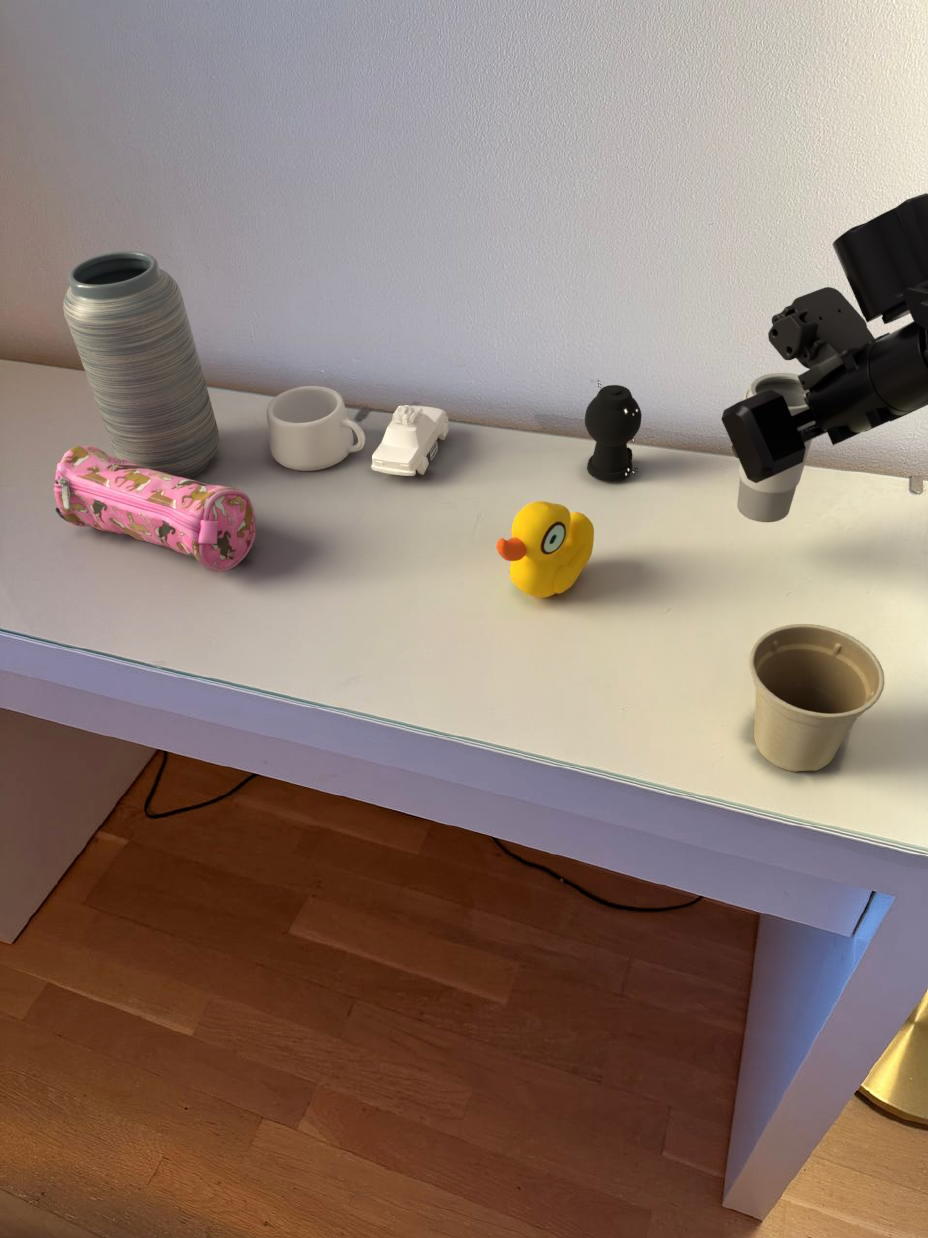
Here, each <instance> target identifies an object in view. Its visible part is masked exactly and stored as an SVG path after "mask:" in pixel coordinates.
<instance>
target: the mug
mask: <svg viewBox="0 0 928 1238" xmlns="http://www.w3.org/2000/svg"><path fill="white" fill-rule="evenodd" d="M266 419H267V420H266V423H267V430H268V442H269V449H270V453H271V456H272V458H273V459H274V460H275V462H277V463H278V464H280V465H281V466H283V467H284V468H287V469H290V470H293V471H299V472H300V471H301V472H315V471H319V470H324V469H328V468H330V467H333V466H336V465H338V464H339V463H340V462H342V461H344V460H345V458H347V457H348V455H349V454H350V453H357V452H360V451H361V450H363V448H364V447H365V443H366V435H365V432H364V430H363V428H362V427H361V426H360V425H359V424H358V423H357V422H355V421H353V420H351V419H349V416H348V412H347V409H346V406H345V401H344V398H343V397H342V395H341V394H340V393H339V392H338V391H336V390H335V389H332V388H329V387H326V386H319V385H304V386H297V387H294V388H291V389H288V390H285V391H283V392H281V393H278V394H277V395H276V396H275V397H273V398H272V399H271V401H270V402H269V403H267V407H266ZM353 431H354V432H353ZM354 433H355V434H356V436H357V443H356V444H354V442H355V438H354V437H355V436H354Z"/></svg>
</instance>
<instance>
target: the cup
mask: <svg viewBox="0 0 928 1238" xmlns="http://www.w3.org/2000/svg"><path fill="white" fill-rule="evenodd" d="M799 375H800V374H797V373H789V372H774V373H768V374H764V375H761V376H759V377H757V378H756V379H754V380H753V381H752V383H750V386H749V388H748V389H747V391H746V392H745V394H744V395H743V397H742V400H745V399H747V398H750V397H752V396H754V395H757V394H759V393H762V392H764V391H766V390H769V389H772V390H774V391H776V392H777V393H779V394H781V395H783V397H784V399H785V401H786V403H787V406H788V408H789V410H790V413H791V415H792V416H793V415H796V414H798V413H800V412H803V411H805V410H807V409H809V406H807V405H806V403H805V401H804V399H803V395H804V394H805V393H807V392H809V390H806V391H804V390H803V388H802V385H801V383H800V381H799V379H798V376H799ZM814 424H815V421H813V422H810V423H808V424H806V425H804V426H801V427H799V428H797V429H798V431H800V430H802V429H805V428H807V427H809V426H811V425H814ZM812 441H813V439H811V440H809V441H807V442H805V447H806V450H805V455H804V459H803V463H800V464H798V465H796V466H794V467H792V468H790V469H787V470H785V471H783V472H781V473H779V474H776V475H774V476H772V477H770V478H767V479H765V480H763V481H760V482H758V483H754V482H752V481H750V480H748V479H747V476H746V474H745V472H744V470H743V467H742V465H741V463H740V462H739V467H738V468H739V469H738V477H739V483H738V484H739V485H738V493H737V503H736V504H737V505H736V506H737V510H738V512H739V513H740V514H741V515H743V516H744V517H745V518H747V519H749V520H751V521H754V522H757V523H774V522H779V521H781V520H784V519H785V518H786V517H787V516H788V515H789V513H790V510H791V507H792V504H793V500H794V497H795V493H796V489H797V486H798V485H799V484H800V482H801V478H802V476H803V472H804V468H805V465H806V462H807V458H808V454H809V451H810V448H811V444H812Z"/></svg>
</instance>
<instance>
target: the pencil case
mask: <svg viewBox="0 0 928 1238" xmlns="http://www.w3.org/2000/svg"><path fill="white" fill-rule="evenodd" d="M53 485H54V486H55V487H54V488H53V491H54V497H55V500H56V504H57V507H56V508H55V512H56V513H57V515H58V516H59V517H60V518H61V519H63V521H66V522H67V523H69V524H71V525H72V526H77V527H85V528H86V527H90V528H95V529H96V530H99V531H102V532H106V533H112V534H115V535H116V534H117V535H129V536H131V537H133V538H134V539H136V540H139V541H142V542H148V543H151V544H153V545H157V546H162V547H164V548H166V549H168V550H171V551H173V552H176V553H179V554H181V555H184V556H188V557H189V556H190V557H192V558H195V559H196V560H197V562H198V563H200V564H201V566H203V568H205V569H208V570H210V571H212V572H213V571H214V572H218V573H219V572H220V573H223V572H227V571H229V570H231V569H233V568H234V567H236V566H238V565H239V564H240V563H241V562H242V561H243V560H244V559H245V558H246V556H247V555H248V554H249V552H250V550H251V548H252V546H253V544H254V543H255V539H256V535H257V524H256V523H257V522H256V516H255V510H254V505H253V503H252V500H251V499H250V497H249V496H248V495H247V493H246V492H244V491H243V490H241V489H239V488H237V487H236V488H235V487H229V486H226V485H218V484H208V483H204V482H200V481H198V480H195V479H192V478H190V479H186V478H182V477H177V476H173V475H169V474H166V473H163V472H159V471H154V470H151V469H148V468H146V467H143V466H140V465H137V464H134V463H131V462H128V461H125V460H122V459H119V458H117V457H116V456H111V455H109V454H107V453H106V452H105V451H103V450H101V449H100V448H97V447H95V446H91V445H77V446H75V447H72V448H70V449H69V450H67V451H66V452H65V453H64V455H63V456H62V459H61V460H60V462H58V463H57V465H56V470H55V478H54V481H53Z"/></svg>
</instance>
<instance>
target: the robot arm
mask: <svg viewBox="0 0 928 1238" xmlns="http://www.w3.org/2000/svg"><path fill="white" fill-rule="evenodd" d="M832 247H833V250H834V252H835V254H836V257H837V259H838V262H839V263H840V266H841V269H842V271H843V273H844V276H845V277H846V279H847V281H848V284H849V286H850V289H851V291H852V293H853V296H854V298H855V300H856V303H857V305H858V307H859V309H860V312H861V314H862V315H861V314H860V313H859V312H858V311H857V309H855V307H854V306H853V305H852V304H851V302H850V301H849V300H848V299H847V298H846V297H845V296H844V295H843V294H842V292H841V291H839V290H838V289H836V288H835V287H831V286H826V287H823V288H820V289H817V290H813V291H812V292H809V293H806V294H804V295H800V296H798V297H796V298H794V300H793V301H792V303H791V304H790V305H788V306H785V307H784V308H783V310H782V311H781V312H779V313H776V314H774V315H773V316H772V317H771V324H772V326H771V327H770V329H769V330H768V333H767V336H768V342H769V343H770V344H771V345H772V346H773V348H774V349H775V350H776V351H777V353H778V354H779V355H780V356H781V357H782V358H783V360H784V361H792V360H795V359H796V360H797V361H798V362H799V363H800V365H802V366H803V367H804V368H806V369H808V370H806V371H804V372H803V373H800V374H798V375H799V376H798V379H799V381H800V383H801V385H802V388H803V390H804V391H806V390H809V392H807V393H805V394H804V395H803V399H804V401H805V403H806V405H807V406H809V409H807V410H805V411H803V412H800V413H798V414H796V415H793V416H792V415H791V413H790V410H789V408H788V406H787V403H786V401H785V399H784V397H783V395H781V394H779V393H777V392H776V391H774V390H772V389H769V390H766V391H764V392H762V393H759V394H757V395H754V396H752V397H750V398H747V399H745V400H743V399H742V400H740V401H737V402H736V403H734V404H733V405H731V406H729V407H727V408H725V409H723V411H722V416H721V422H722V424H723V426H724V429H725V431H726V434H727V436H728V437H729V440H730V443H731V450H732V453H733V455H734V457H735V458H736V459H738V460H739V464H740V463H741V465H742V467H743V470H744V472H745V474H746V476H747V479H748V480H750V481H752V482H754V483H758V482H760V481H763V480H765V479H767V478H770V477H772V476H774V475H776V474H779V473H781V472H783V471H785V470H787V469H790V468H792V467H794V466H796V465H798V464H800V463H803V459H804V455H805V450H806V447H805V442H807V441H809V440H811V439H812V440H814V439H816V438H818V437H821V436H823V435H825V434H827V435H828V438H829V440H830V443H831V445H832V446H835V445H837V444H840V443H842V442H844V441H847V440H848V439H851V438H854V437H855V436H857V435H859V434H861V433H865V432H866V433H867V432H868V431H870V430H872V429H874V428H878V427H880V426H882V425H884V424H886V423H888V422H890V423H891V422H893V421H895V420H896V421H897V420H898V419H901V418H903V417H905V416H907V415H909V414H911V413H914V412H916V411H918V410H921V409H922V408H925V407H926V406H928V193H927V192H924V193H921V194H919V195H916V196H914V197H910V198H907V199H905V200H904V201H903V202H901V203H900V204H898V205H897V206H895V207H894V208H892V209H890V210H886V211H885V212H883V213H881V214H879V215H877V216H876V217H873V218H871V219H870V220H868V221H866V222H864V223H861V224H857V225H856V226H855V225H854V226H853V227H851V228H849V229H848V230H847V231H844V232H843V233H842V234H840V236H838V237H837V238H836V239H835V240H834V241H833V243H832ZM909 315H910V316H911V318H912V320H913V321H911V322H909V323H908V324H906V325H904V326H902V327H899V328H898V329H896V330H894V331H893V332H887V333H884V334H882V335H879V336H878V337H874V335H873V334H872V332H871V330H870V329H869V328H868V324H867V323H870V322H872V321H874V320H876V319H879V317H881V320H882V323H883V325H887V324H890V323H893V322H895V321H897V320H899V319H901V318H903V317H906V316H909ZM813 421H815V424H814V425H811V426H809V427H807V428H805V429H802V430H800V431H798V429H797V428H799V427H801V426H804V425H806V424H808V423H810V422H813Z"/></svg>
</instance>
